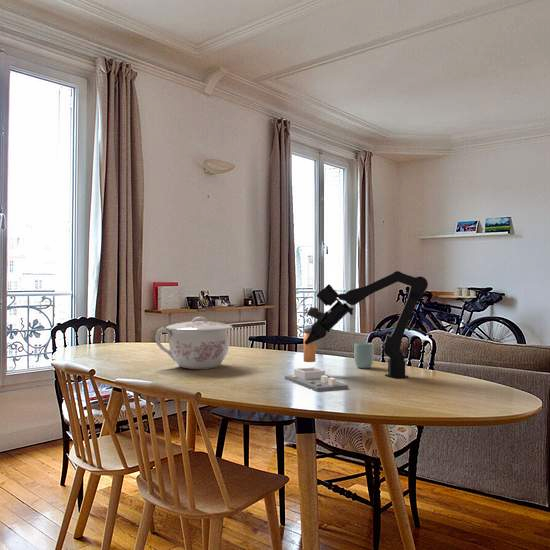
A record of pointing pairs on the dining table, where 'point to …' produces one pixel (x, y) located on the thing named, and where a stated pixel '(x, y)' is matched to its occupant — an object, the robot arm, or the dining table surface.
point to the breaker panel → (315, 379)
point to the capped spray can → (309, 347)
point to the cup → (363, 354)
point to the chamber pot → (196, 343)
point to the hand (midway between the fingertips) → (306, 342)
